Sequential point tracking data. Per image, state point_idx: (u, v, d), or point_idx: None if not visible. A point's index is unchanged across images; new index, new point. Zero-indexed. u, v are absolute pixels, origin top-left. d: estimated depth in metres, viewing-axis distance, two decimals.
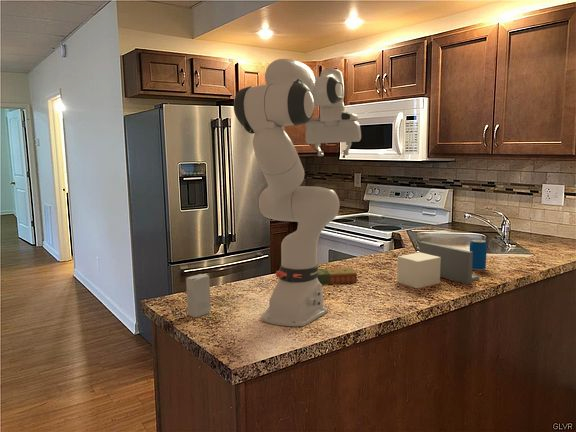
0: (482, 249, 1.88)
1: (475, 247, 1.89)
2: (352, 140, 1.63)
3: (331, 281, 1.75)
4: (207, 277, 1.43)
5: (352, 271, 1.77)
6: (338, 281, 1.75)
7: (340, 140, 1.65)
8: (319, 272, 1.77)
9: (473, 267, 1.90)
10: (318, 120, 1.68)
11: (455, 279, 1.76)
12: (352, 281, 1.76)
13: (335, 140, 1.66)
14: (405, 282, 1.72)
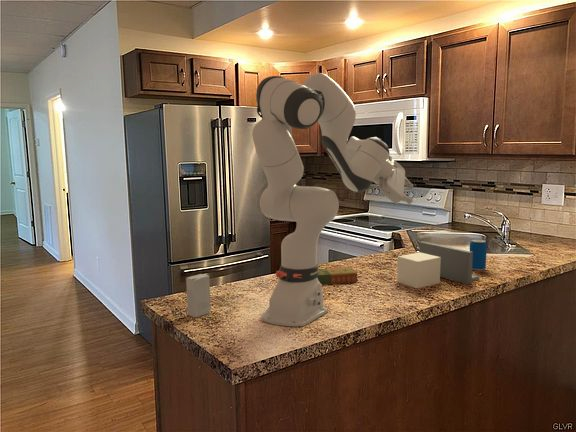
0: (482, 249, 1.88)
1: (475, 247, 1.89)
2: (404, 172, 1.67)
3: (332, 281, 1.75)
4: (207, 277, 1.43)
5: (352, 271, 1.78)
6: (339, 281, 1.75)
7: (403, 177, 1.64)
8: (320, 272, 1.76)
9: (473, 267, 1.90)
10: (383, 179, 1.57)
11: (455, 279, 1.76)
12: (353, 280, 1.76)
13: (403, 180, 1.62)
14: (405, 282, 1.72)
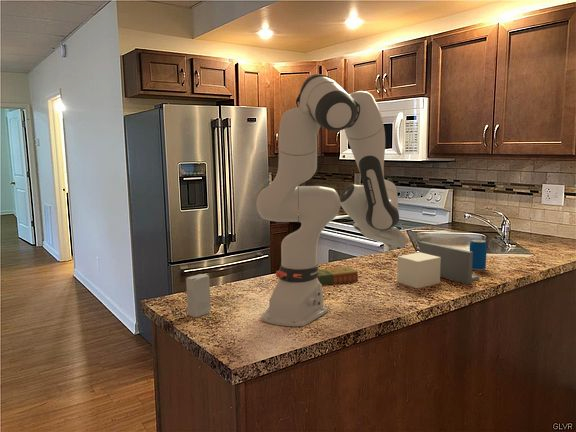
0: (482, 249, 1.88)
1: (475, 247, 1.89)
2: None
3: (334, 281, 1.75)
4: (207, 277, 1.43)
5: (352, 270, 1.79)
6: (341, 281, 1.76)
7: None
8: (321, 273, 1.75)
9: (473, 267, 1.90)
10: None
11: (455, 279, 1.76)
12: (353, 279, 1.77)
13: None
14: (405, 282, 1.72)
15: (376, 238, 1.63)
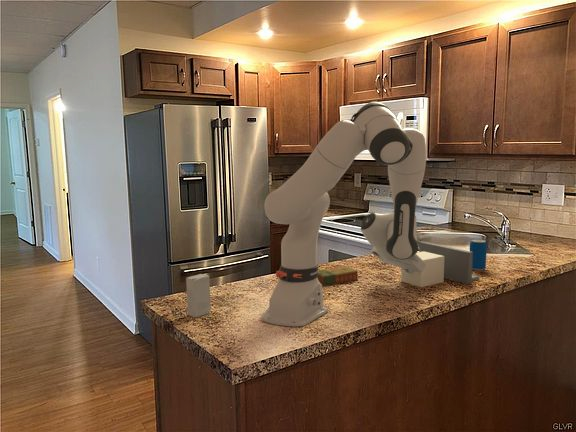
0: (482, 249, 1.88)
1: (475, 247, 1.89)
2: None
3: (336, 281, 1.75)
4: (207, 277, 1.43)
5: (352, 269, 1.80)
6: (342, 280, 1.76)
7: None
8: (323, 273, 1.75)
9: (473, 267, 1.90)
10: None
11: (455, 279, 1.76)
12: (354, 278, 1.78)
13: None
14: (409, 281, 1.73)
15: (393, 263, 1.70)
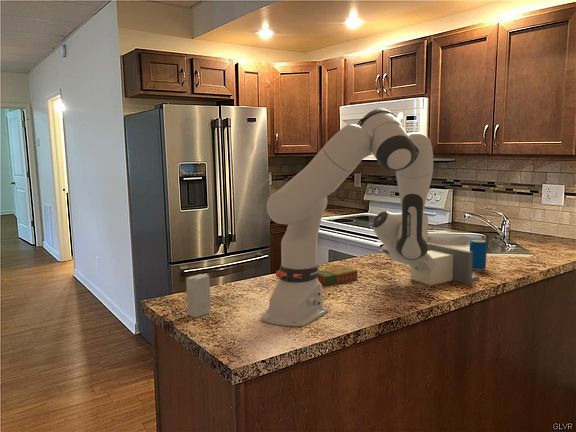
0: (482, 249, 1.88)
1: (475, 247, 1.89)
2: None
3: (337, 281, 1.75)
4: (207, 277, 1.43)
5: (351, 269, 1.80)
6: (343, 280, 1.76)
7: None
8: (324, 274, 1.74)
9: (473, 267, 1.90)
10: None
11: (455, 279, 1.76)
12: (354, 278, 1.79)
13: None
14: (418, 279, 1.76)
15: (403, 261, 1.72)
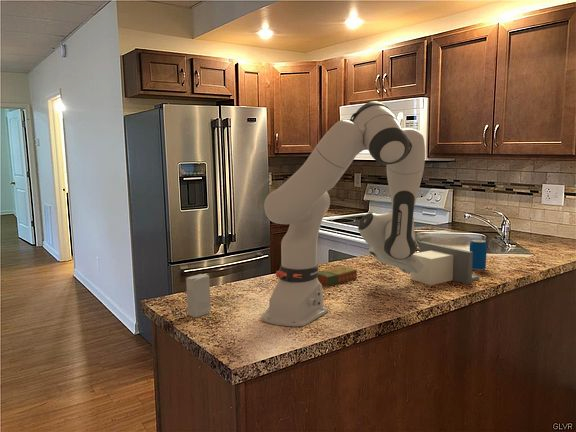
0: (482, 249, 1.88)
1: (475, 247, 1.89)
2: None
3: (339, 281, 1.75)
4: (207, 277, 1.43)
5: (350, 268, 1.81)
6: (344, 280, 1.76)
7: None
8: (326, 274, 1.74)
9: (473, 267, 1.90)
10: None
11: (455, 279, 1.76)
12: (353, 278, 1.80)
13: None
14: (418, 279, 1.76)
15: (390, 263, 1.70)
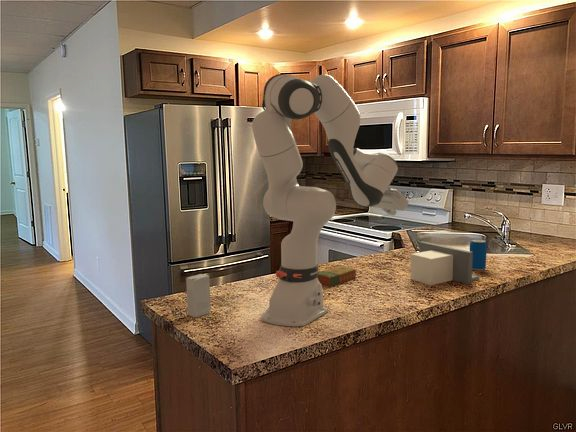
0: (482, 249, 1.88)
1: (475, 247, 1.89)
2: None
3: (340, 281, 1.75)
4: (207, 277, 1.43)
5: (349, 268, 1.82)
6: (344, 280, 1.77)
7: None
8: (328, 274, 1.73)
9: (473, 267, 1.90)
10: None
11: (455, 279, 1.76)
12: (353, 277, 1.81)
13: None
14: (418, 279, 1.76)
15: None
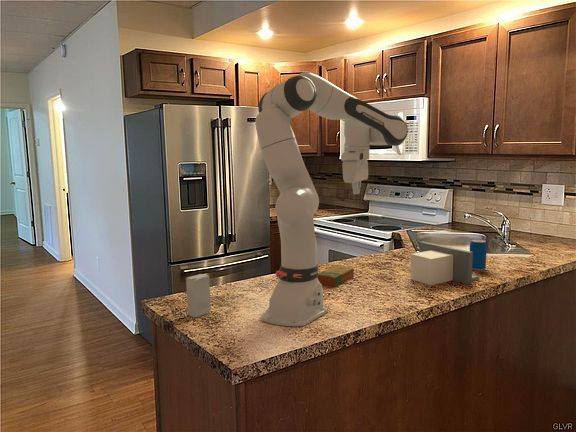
0: (482, 249, 1.88)
1: (475, 247, 1.89)
2: None
3: (342, 281, 1.75)
4: (207, 277, 1.43)
5: (347, 267, 1.83)
6: (345, 279, 1.77)
7: None
8: (331, 275, 1.73)
9: (473, 267, 1.90)
10: None
11: (455, 279, 1.76)
12: (351, 276, 1.82)
13: None
14: (418, 279, 1.76)
15: (359, 175, 1.62)
